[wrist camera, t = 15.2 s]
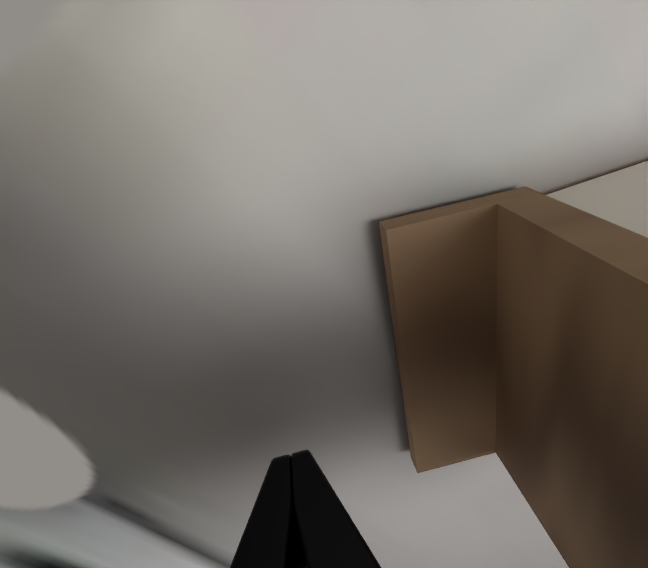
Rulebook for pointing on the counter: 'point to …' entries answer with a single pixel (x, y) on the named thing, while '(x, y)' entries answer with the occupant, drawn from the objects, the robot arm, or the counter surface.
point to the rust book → (613, 197)
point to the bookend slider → (530, 359)
